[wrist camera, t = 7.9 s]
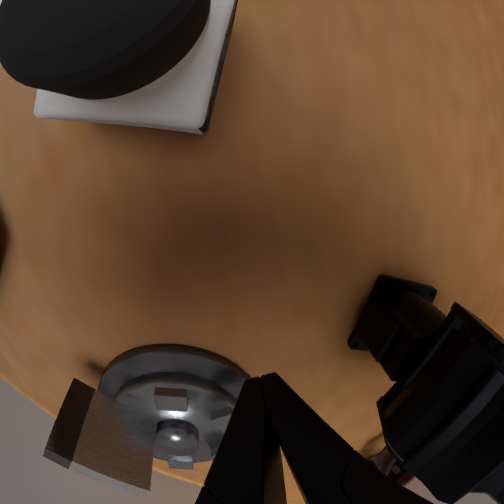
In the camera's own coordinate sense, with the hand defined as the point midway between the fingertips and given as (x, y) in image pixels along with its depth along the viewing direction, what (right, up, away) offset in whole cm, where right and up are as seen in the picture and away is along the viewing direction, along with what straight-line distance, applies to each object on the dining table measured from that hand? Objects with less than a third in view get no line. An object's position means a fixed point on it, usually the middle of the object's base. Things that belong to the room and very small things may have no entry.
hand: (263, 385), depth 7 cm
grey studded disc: (-8, -9, +14) cm, 18 cm away
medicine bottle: (-6, +14, +7) cm, 17 cm away
